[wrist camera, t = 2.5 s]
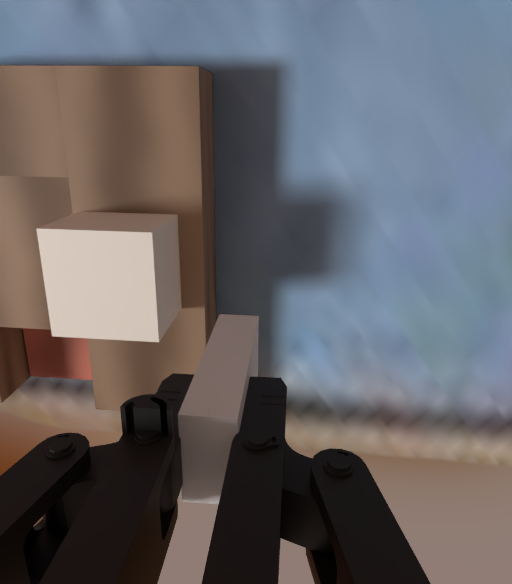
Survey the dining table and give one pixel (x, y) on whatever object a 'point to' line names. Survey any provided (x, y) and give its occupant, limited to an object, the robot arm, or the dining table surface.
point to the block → (111, 275)
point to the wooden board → (104, 209)
